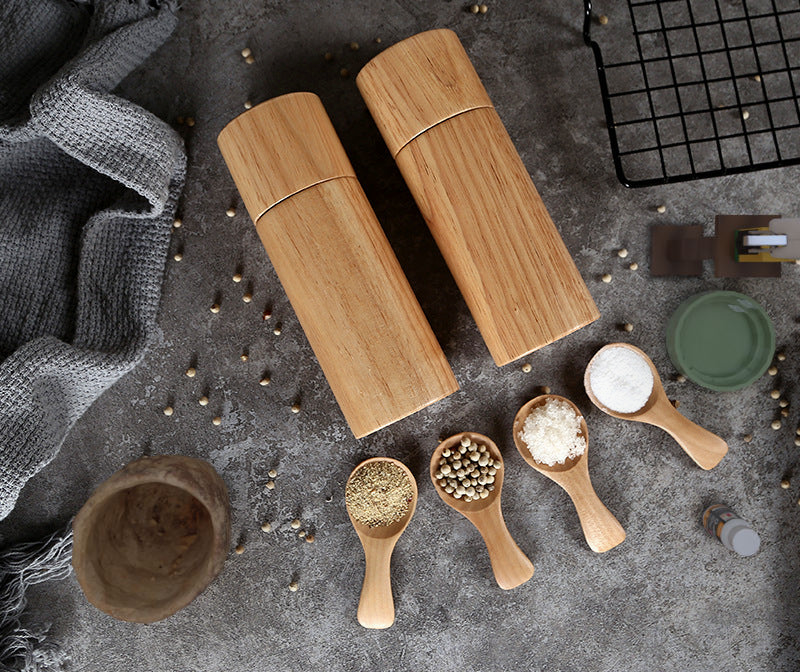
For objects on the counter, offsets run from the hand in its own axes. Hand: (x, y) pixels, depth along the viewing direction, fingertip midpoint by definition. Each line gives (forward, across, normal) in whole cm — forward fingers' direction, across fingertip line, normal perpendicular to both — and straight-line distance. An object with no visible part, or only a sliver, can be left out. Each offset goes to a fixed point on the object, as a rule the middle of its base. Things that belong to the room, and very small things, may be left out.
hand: (776, 243), depth 85 cm
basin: (+32, -8, +16) cm, 36 cm away
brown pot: (+32, +86, +44) cm, 102 cm away
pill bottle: (+32, -8, +49) cm, 59 cm away
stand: (+32, 0, 0) cm, 32 cm away
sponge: (+7, 0, 0) cm, 7 cm away
